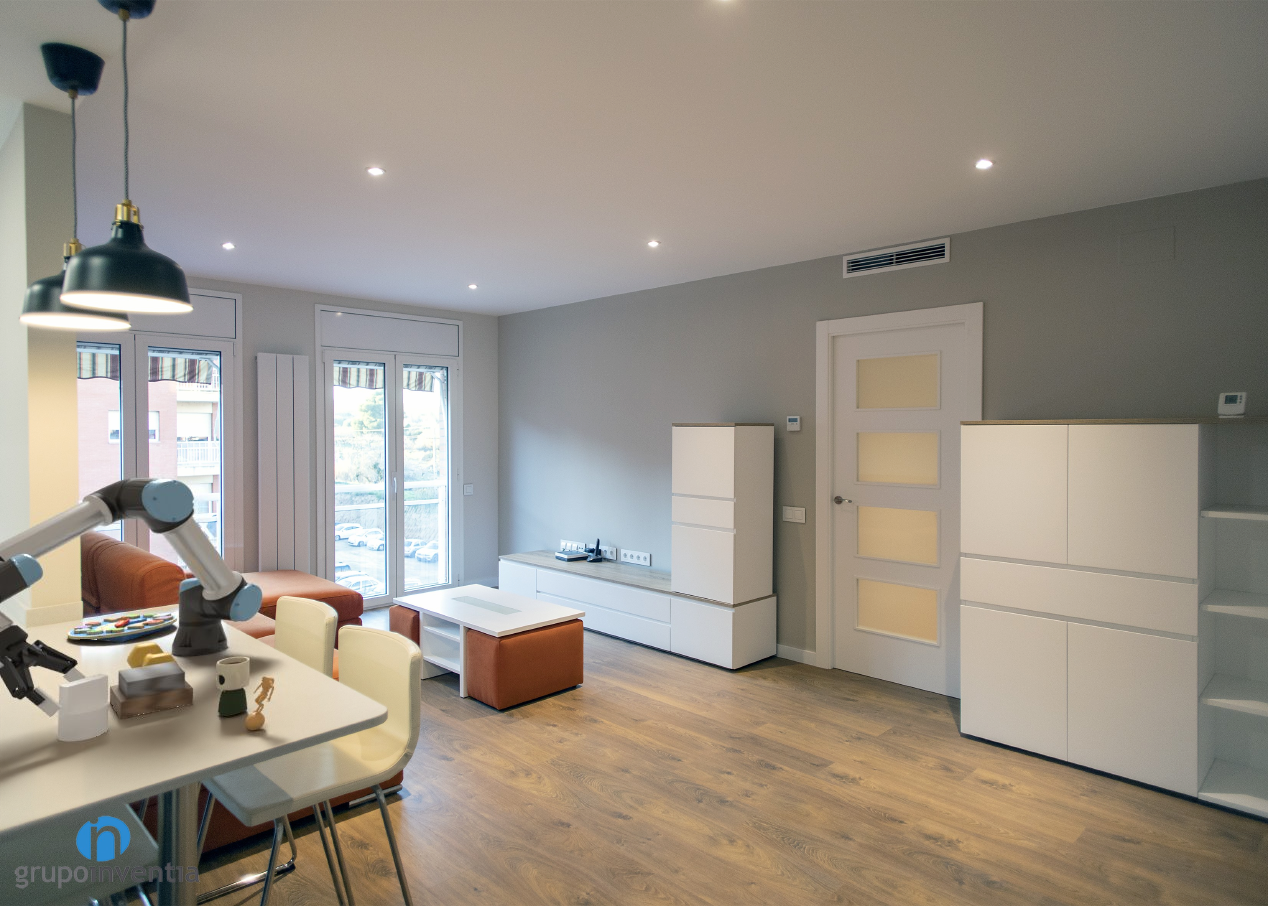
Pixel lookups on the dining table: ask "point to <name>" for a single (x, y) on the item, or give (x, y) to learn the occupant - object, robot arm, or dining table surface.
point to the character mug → (232, 684)
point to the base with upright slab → (83, 708)
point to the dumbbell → (148, 655)
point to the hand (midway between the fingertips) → (74, 700)
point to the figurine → (260, 704)
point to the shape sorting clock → (123, 627)
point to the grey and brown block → (150, 689)
